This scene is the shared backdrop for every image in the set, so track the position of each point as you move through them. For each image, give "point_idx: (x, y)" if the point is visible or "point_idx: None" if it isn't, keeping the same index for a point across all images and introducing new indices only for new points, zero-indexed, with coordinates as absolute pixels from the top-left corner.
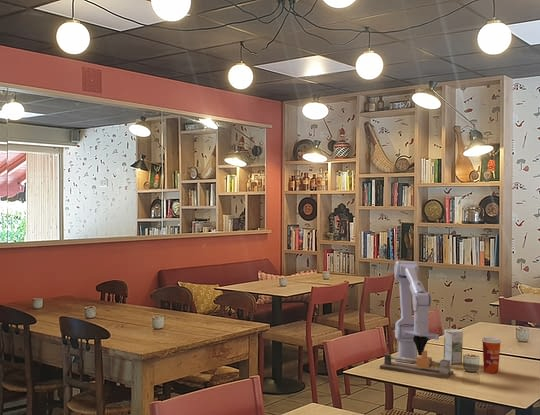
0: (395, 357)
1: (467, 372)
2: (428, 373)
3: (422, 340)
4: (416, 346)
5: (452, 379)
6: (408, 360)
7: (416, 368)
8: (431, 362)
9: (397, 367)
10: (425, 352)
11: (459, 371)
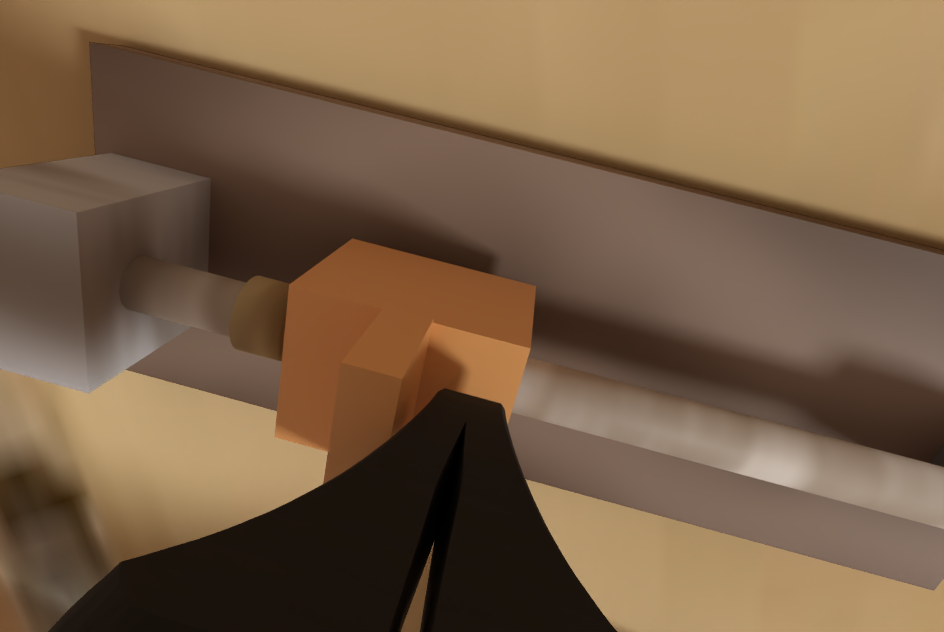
0: (938, 479)
1: (40, 451)
2: (349, 107)
3: (171, 607)
4: (540, 523)
5: (48, 51)
6: (685, 399)
7: (544, 330)
8: (279, 297)
9: (838, 292)
10: (335, 442)
11: (114, 466)
